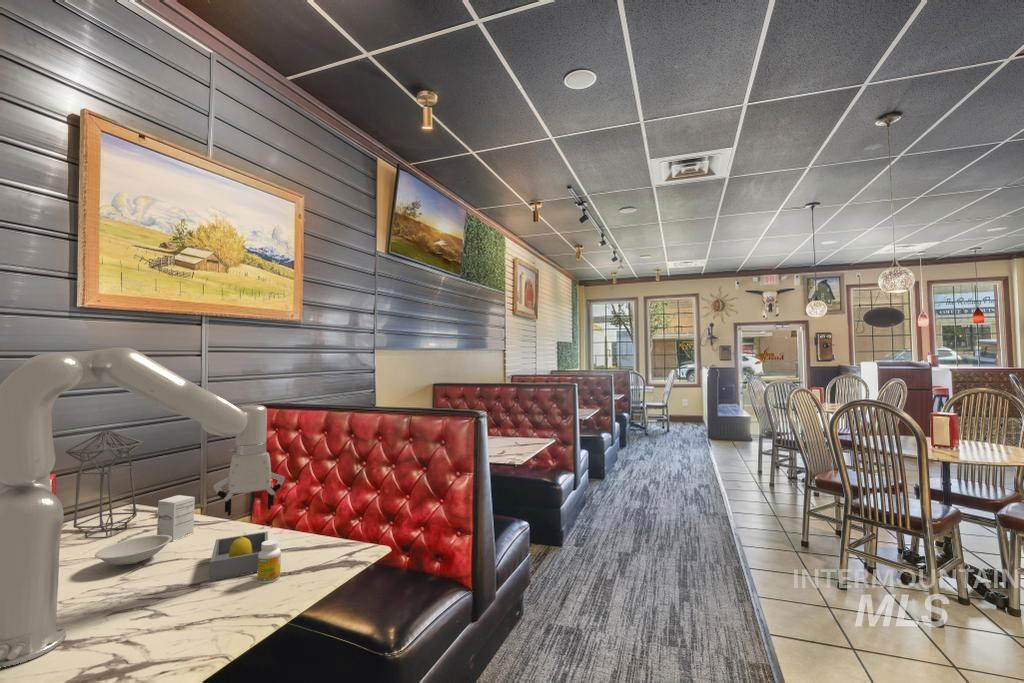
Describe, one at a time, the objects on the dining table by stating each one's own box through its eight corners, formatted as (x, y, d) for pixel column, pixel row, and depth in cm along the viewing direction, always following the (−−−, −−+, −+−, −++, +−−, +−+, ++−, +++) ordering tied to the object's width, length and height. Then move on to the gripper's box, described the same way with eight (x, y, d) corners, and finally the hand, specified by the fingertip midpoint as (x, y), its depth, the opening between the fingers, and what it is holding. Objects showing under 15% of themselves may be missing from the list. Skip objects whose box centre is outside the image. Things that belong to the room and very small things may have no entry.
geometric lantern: (107, 543, 146) (107, 433, 147) (59, 543, 146) (60, 434, 148) (147, 524, 162) (148, 426, 163) (104, 525, 162) (105, 427, 163)
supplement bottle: (254, 585, 118) (255, 547, 118) (260, 575, 123) (261, 539, 124) (277, 582, 119) (278, 544, 120) (282, 573, 125) (283, 537, 125)
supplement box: (155, 539, 149) (157, 500, 149) (178, 531, 156) (179, 494, 156) (172, 542, 147) (173, 502, 147) (194, 533, 154) (195, 496, 154)
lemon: (242, 570, 124) (244, 541, 125) (223, 569, 125) (225, 539, 125) (255, 562, 130) (257, 533, 130) (237, 560, 130) (238, 532, 131)
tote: (267, 569, 127) (268, 551, 127) (209, 581, 120) (210, 562, 120) (267, 547, 142) (267, 531, 142) (215, 556, 136) (216, 539, 136)
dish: (158, 547, 142) (158, 531, 143) (181, 557, 135) (182, 540, 136) (84, 569, 127) (85, 551, 127) (106, 581, 120) (107, 562, 120)
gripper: (213, 455, 120) (211, 520, 119) (286, 448, 129) (285, 510, 128) (215, 450, 126) (213, 512, 126) (284, 444, 135) (283, 502, 134)
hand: (249, 511), depth 127 cm, fingers open, 9 cm apart
